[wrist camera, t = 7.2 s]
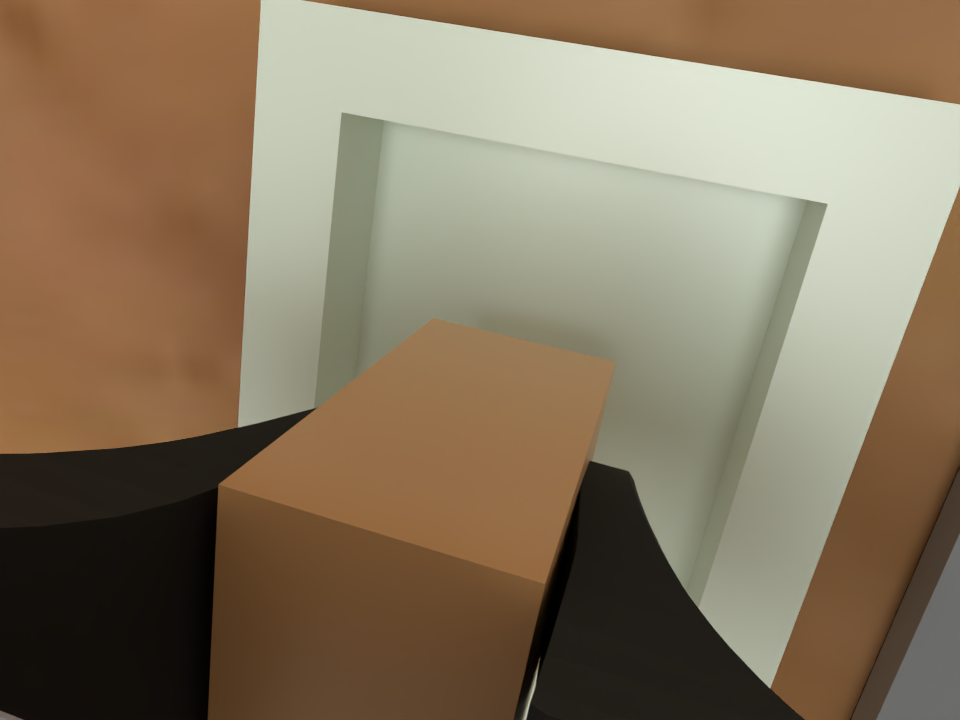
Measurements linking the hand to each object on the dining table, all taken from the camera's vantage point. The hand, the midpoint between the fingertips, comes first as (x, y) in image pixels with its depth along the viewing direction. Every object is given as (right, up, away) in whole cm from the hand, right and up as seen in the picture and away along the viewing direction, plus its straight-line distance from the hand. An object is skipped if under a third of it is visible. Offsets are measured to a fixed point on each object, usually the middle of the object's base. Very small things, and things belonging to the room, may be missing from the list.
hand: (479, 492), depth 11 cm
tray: (+1, +1, +4) cm, 5 cm away
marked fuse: (0, +1, +1) cm, 1 cm away
